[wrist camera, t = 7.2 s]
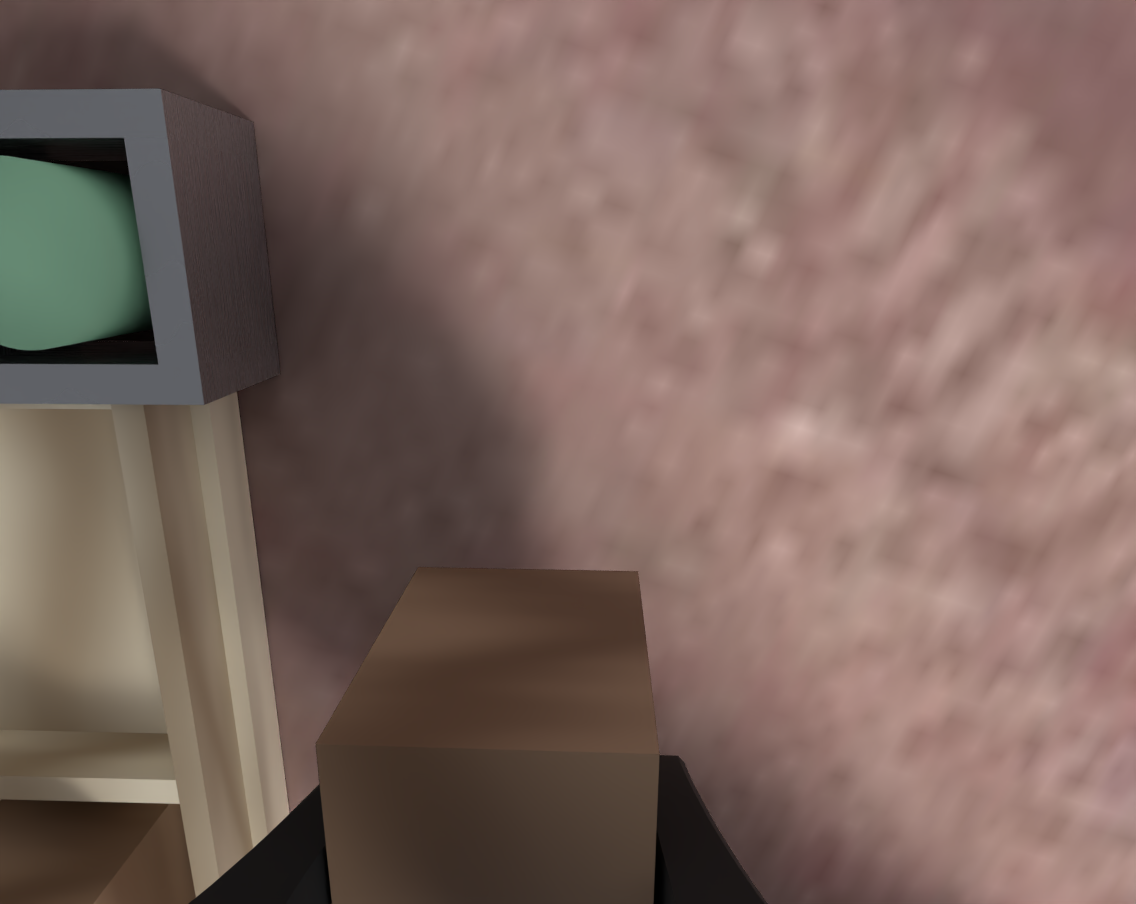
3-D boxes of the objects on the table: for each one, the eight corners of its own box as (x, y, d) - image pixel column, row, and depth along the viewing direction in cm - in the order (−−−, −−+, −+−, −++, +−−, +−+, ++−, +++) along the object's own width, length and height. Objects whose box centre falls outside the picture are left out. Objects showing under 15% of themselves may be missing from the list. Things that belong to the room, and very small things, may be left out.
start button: (197, 174, 14) (88, 154, 11) (217, 329, 15) (121, 351, 12) (47, 174, 14) (-102, 155, 11) (74, 329, 15) (-57, 350, 12)
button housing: (253, 122, 14) (160, 88, 11) (280, 374, 16) (204, 404, 13) (6, 124, 15) (-152, 91, 12) (53, 372, 16) (-76, 403, 13)
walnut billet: (637, 571, 13) (659, 753, 8) (629, 845, 15) (644, 1132, 10) (417, 567, 13) (315, 744, 9) (433, 838, 15) (354, 1117, 10)
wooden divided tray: (232, 354, 16) (160, 377, 13) (311, 989, 21) (270, 1097, 18) (-129, 353, 16) (-270, 374, 13) (33, 980, 21) (-48, 1085, 18)
